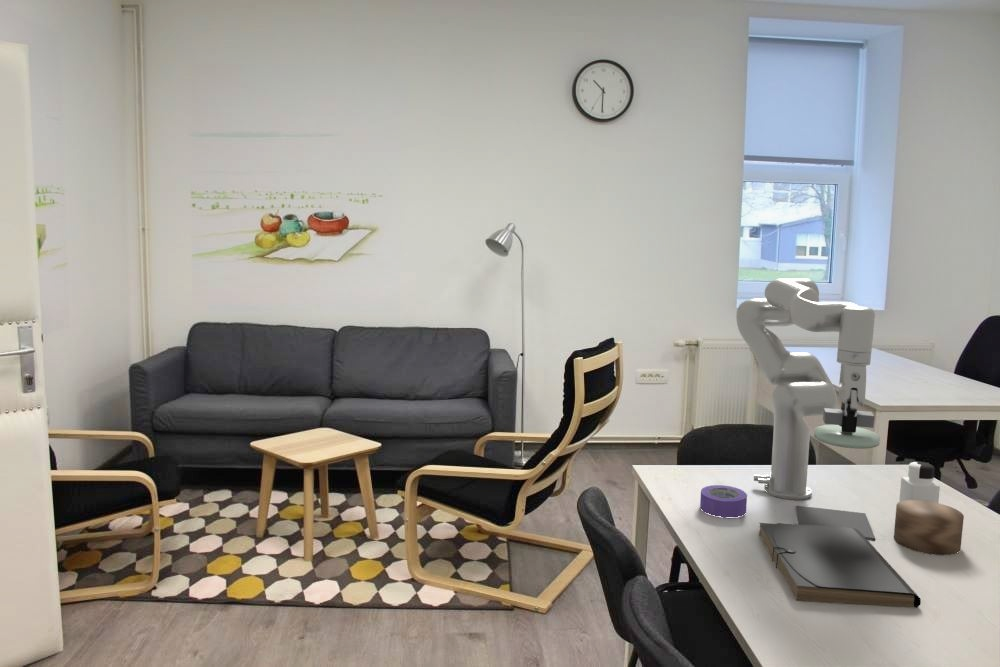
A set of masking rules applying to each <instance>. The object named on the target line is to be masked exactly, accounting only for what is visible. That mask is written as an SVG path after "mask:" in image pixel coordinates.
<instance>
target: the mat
mask: <svg viewBox="0 0 1000 667" xmlns="http://www.w3.org/2000/svg"><path fill="white" fill-rule="evenodd" d="M795 511H796V518H797V524H800V525H815V526H831V527H846V528H854V529H857V530H858V531H860V532H861V533H862V534H863V536H864V537H865V538H866V539H867V540H868V541H876V537H875V534H874V532H873V529H872V527H871V524H870V521H869V519H868V516H867V514H866V513H865V512H858V511H848V510H840V509H839V510H838V509H831V508H821V507H813V506H805V505H804V506H803V505H797V504H796V505H795Z"/></svg>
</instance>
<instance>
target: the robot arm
mask: <svg viewBox="0 0 1000 667" xmlns="http://www.w3.org/2000/svg"><path fill="white" fill-rule="evenodd" d="M875 315H876V314H875V311H874V309H873V308H870V307H867V306H860V305H858V304H856V303H854V302H850V301H821V302H820V290H819V288H818V285H817V284H816V282H814V281H813V280H812V279H810V278H806V277H803V278H801V277H800V278H799V277H798V278H796V277H793V278H792V277H791V278H790V277H788V278H787V277H785V278H777V279H774V280H772V281H769V283H768V284H767V285H766V287H765V288H764V297H762V298H761V297H760V298H751V299H748V300H743V302H741V303H740V304H739V305H738V307H737V309H736V316H735V317H736V324H737V329H738V332H739V334H740V336H741V337H742V339H743V340H744V342H745V344H747V346H748V347H749V349H750V350H751V352H752V354H754V358H755V360H756V361H757V364H758V366H759V368H760V370H761V372H762V373H763V375H764V377H765V379H766V380H767V382H768V383H769V384H771V385H773V386H775V388H774V389H773V390H772V393H771V405H772V412H773V436H772V450H771V452H772V453H771V467H770V470H771V471H769V474H768V473H767V474H765V475H762V474H753V481H754V482H757V483H758V484H764V488H763V489H765V490H766V491H767V492H768V494H769V493H770V494H772V495H771V496H773V495H774V496H773V497H776V498H780V499H786V500H795V501H796V500H806V499H809V498H811V497H812V495H813V490H812V489H811V488H810V487H808V486H807V485H808V484H807V483H808V467H809V452H810V451H809V450H810V436H811V435H810V434H811V433H810V429H809V427H808V425H807V424H806V422H805V420H804V417H812V416H813V417H814V416H823V413H824V408H830V409H837V407H838V401H839V399H840V400H841V401H840V402H841V403H840V409H843V410H844V415H843V418H842V425H839V426H841V427H842V429H841V430H842V431H843V432H852V433H855V432H856V427H857V426H856V425H857V411H858V405H859V404H860V405H861V406H865V404H866V392H867V390H866V389H867V366H870V365H871V362H872V361H871V359H872V348H873V340H874V328H875V318H876V316H875ZM792 325H795V326H797V327H799V328H801V329H803V330H805V331H807V332H813V333H826V332H827V333H832V332H834V333H836V332H837V333H838V343H837V352H836V353H837V354H836V362H837V363H839V364H840V371H839V372H840V373H839V383H838V384H839V385H838V395H837V391H836V389H835V386H834V385H833V383H832V381H831V379H830V378H829V376H828V374H827V372H826V371H825V368H824V367H823V365H822V363H821V362H820V360H819V359H818V358H817V356H815V355H814V354H812V353H809V352H806V351H799V352H798V351H797V352H794V351H793V352H792V351H788V350H787V349H786V347H785V346H784V344H783V343H782V340H781V339H780V338H779V337H778V336H777V335H776V334H775V333H774V332H773V331H771V330H769V329H768V328H767V327H770V328H771V327H788V326H792ZM838 397H839V399H838ZM858 403H859V404H858ZM765 490H764V491H765ZM766 491H765V492H766ZM767 492H766V493H767ZM770 494H769V495H770Z"/></svg>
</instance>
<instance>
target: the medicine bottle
mask: <svg viewBox="0 0 1000 667" xmlns="http://www.w3.org/2000/svg"><path fill="white" fill-rule="evenodd" d="M935 470H936V468H935V466H934V465H932V464H930V463H929V462H924V461H913V462H910V463H909V464H908V471H907V472H908V473H907V476H901V479H900V490H899V502H901V501H906V500H921V501H929V502H935V503H939V502H940V501H939V500H940V499H939V498H940V492H941V491H940V490H941V486H940V485H938V483H936V482H934V480H935Z"/></svg>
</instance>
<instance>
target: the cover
mask: <svg viewBox="0 0 1000 667" xmlns="http://www.w3.org/2000/svg"><path fill="white" fill-rule="evenodd" d="M843 415H844V410H843V409H841V408H836V409H830V408H824V413H823V415H822V416H823V417H822V421H823V423H824V424H823V425H819V426H816V427H814V432H813V437H814V438H815V439H816V440H817V441H819V442H821V443H825V444H827V445H830V446H835V447H840V448H847V449H855V450H856V449H858V450H861V449H862V450H863V449H865V450H866V449H873V448H877V447H879V446H880V442H881V436H880V435H879V433H876V432H875V431H873V430H870V428H871V429H873V428H874V425H875V415H874V413H873V411H867V410H865V411H864V410H857V425H856V432H855V433H852V432H843V431H842V430H841V429H842V427H841V426H839V425H842V418H843ZM866 428H867V429H866ZM868 428H869V429H868Z"/></svg>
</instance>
